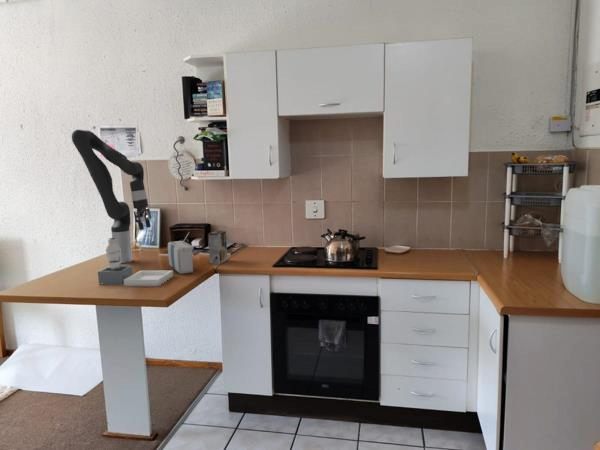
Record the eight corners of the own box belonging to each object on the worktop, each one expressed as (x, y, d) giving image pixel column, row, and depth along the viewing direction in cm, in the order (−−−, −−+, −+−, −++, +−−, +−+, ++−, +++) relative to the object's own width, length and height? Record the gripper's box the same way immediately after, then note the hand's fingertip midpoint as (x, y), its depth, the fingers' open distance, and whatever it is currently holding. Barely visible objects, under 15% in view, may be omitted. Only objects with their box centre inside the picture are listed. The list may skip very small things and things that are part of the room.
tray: (124, 286, 189) (123, 279, 188) (141, 276, 204) (140, 270, 204) (159, 286, 187) (158, 279, 187) (173, 276, 203) (173, 270, 202)
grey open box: (99, 284, 193) (97, 271, 192) (110, 278, 203) (109, 266, 202) (122, 284, 192) (121, 271, 191) (133, 278, 202) (132, 265, 201)
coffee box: (217, 259, 236) (215, 230, 234) (227, 260, 234) (226, 230, 232) (209, 263, 227) (207, 233, 225) (220, 263, 226) (218, 233, 223)
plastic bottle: (108, 284, 193) (104, 240, 190) (108, 280, 199) (104, 238, 196) (124, 282, 196) (120, 239, 193) (123, 278, 202) (119, 236, 199)
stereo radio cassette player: (168, 267, 223) (165, 229, 220) (184, 264, 227) (181, 227, 224) (178, 275, 205) (175, 234, 202) (195, 272, 209) (192, 232, 206)
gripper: (139, 199, 239) (144, 227, 241) (126, 201, 225) (132, 231, 227) (151, 197, 238) (157, 225, 240) (140, 199, 224) (146, 229, 226)
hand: (145, 228), depth 234 cm, fingers open, 8 cm apart
